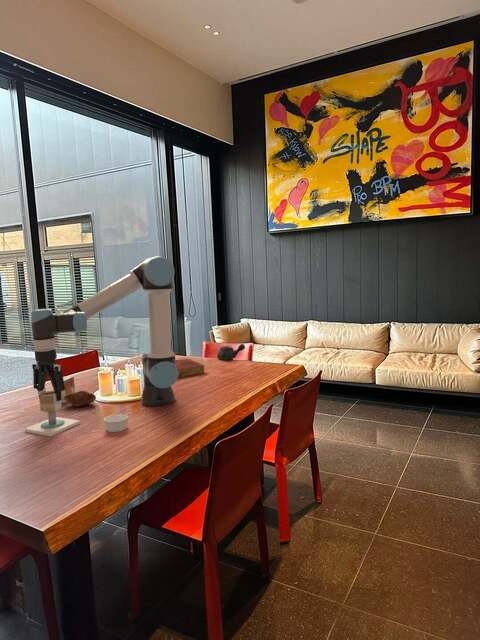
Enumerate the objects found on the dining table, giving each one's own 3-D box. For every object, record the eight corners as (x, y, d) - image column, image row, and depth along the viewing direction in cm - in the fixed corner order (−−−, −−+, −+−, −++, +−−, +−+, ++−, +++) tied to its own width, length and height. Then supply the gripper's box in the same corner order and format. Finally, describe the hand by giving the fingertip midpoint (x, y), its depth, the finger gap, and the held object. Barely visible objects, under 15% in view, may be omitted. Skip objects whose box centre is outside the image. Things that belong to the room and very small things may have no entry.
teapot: (214, 361, 271) (213, 346, 270) (219, 356, 286) (218, 341, 285) (243, 361, 268) (243, 346, 267) (247, 356, 283) (246, 341, 282)
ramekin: (109, 424, 168) (108, 414, 168) (131, 424, 168) (130, 413, 167) (101, 433, 159) (100, 422, 159) (124, 432, 159) (123, 421, 158)
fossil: (101, 396, 195) (86, 380, 191) (92, 409, 188) (77, 394, 184) (82, 403, 200) (67, 388, 196) (73, 416, 194) (58, 401, 190)
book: (188, 366, 264) (188, 358, 264) (205, 373, 243) (204, 365, 243) (141, 374, 250) (140, 365, 249) (154, 382, 229) (154, 373, 228)
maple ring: (64, 406, 168) (63, 391, 167) (49, 412, 162) (48, 396, 161) (52, 404, 171) (50, 389, 170) (36, 410, 165) (35, 394, 164)
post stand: (80, 423, 170) (78, 402, 169) (50, 436, 158) (48, 413, 157) (55, 419, 177) (53, 398, 176) (25, 431, 164) (22, 409, 163)
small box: (66, 403, 198) (64, 380, 197) (55, 402, 199) (53, 380, 198) (76, 397, 206) (74, 376, 205) (65, 397, 207) (63, 376, 206)
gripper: (72, 348, 162) (77, 407, 165) (35, 346, 171) (41, 402, 174) (55, 352, 156) (61, 413, 159) (18, 350, 164) (25, 407, 167)
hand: (51, 407), depth 166 cm, fingers closed on maple ring, 7 cm apart
